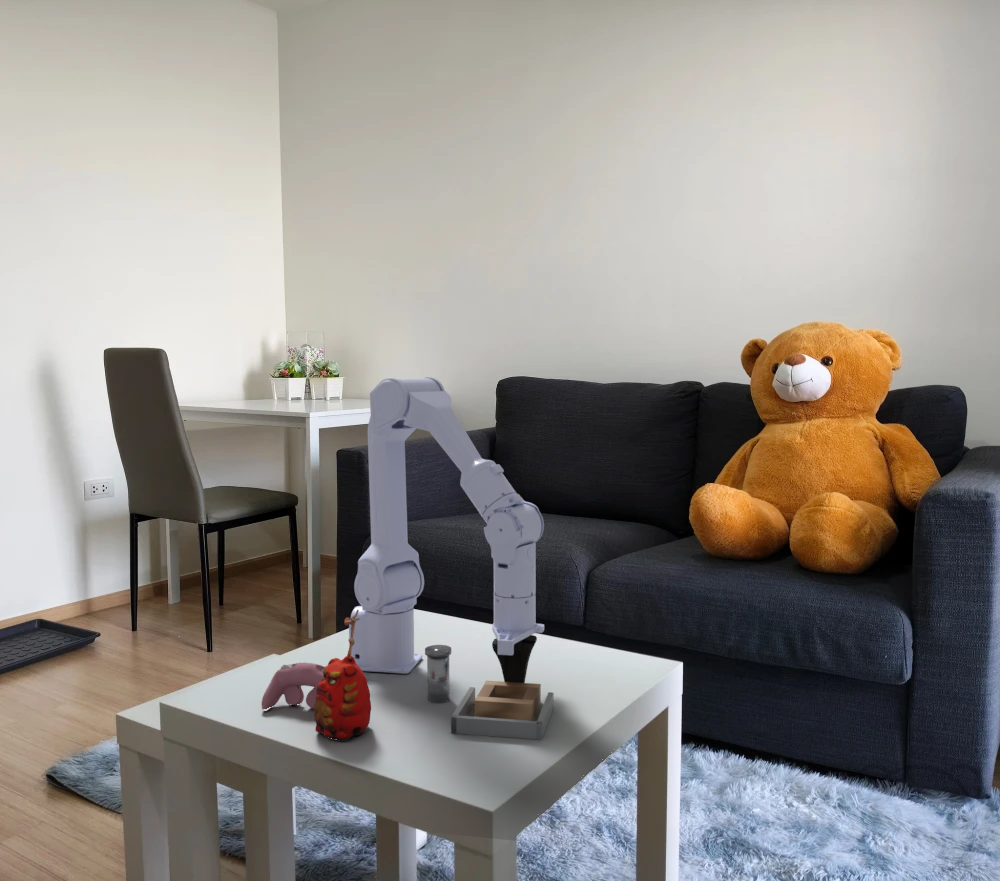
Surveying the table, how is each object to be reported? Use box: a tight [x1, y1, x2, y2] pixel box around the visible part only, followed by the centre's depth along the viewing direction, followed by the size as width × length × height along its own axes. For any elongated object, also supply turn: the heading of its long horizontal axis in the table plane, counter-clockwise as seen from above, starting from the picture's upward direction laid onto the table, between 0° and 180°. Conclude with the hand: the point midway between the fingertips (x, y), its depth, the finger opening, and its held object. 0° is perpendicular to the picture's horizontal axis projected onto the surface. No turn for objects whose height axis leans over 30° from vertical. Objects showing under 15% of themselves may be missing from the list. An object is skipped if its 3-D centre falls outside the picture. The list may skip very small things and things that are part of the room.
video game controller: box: [261, 662, 325, 710], centre depth 120 cm, size 10×5×7 cm, turn 73°
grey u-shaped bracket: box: [450, 686, 555, 741], centre depth 116 cm, size 11×11×2 cm
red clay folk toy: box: [313, 609, 372, 742], centre depth 112 cm, size 8×7×15 cm
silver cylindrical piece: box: [424, 644, 452, 704], centre depth 123 cm, size 4×4×7 cm
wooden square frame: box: [474, 680, 542, 721], centre depth 119 cm, size 8×8×2 cm
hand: (514, 690), depth 124 cm, fingers closed
